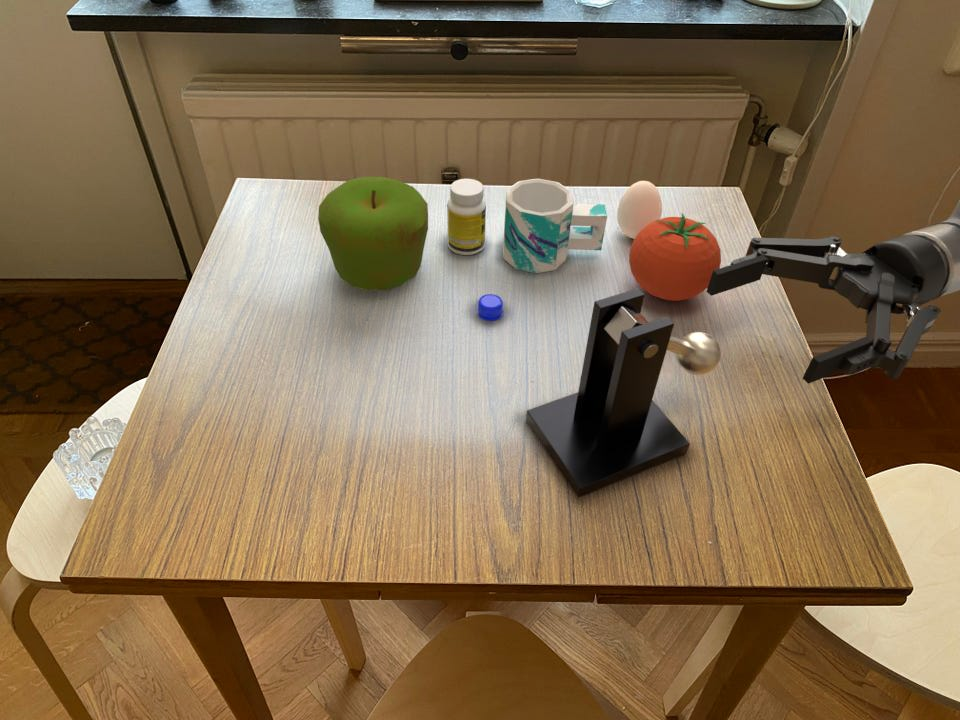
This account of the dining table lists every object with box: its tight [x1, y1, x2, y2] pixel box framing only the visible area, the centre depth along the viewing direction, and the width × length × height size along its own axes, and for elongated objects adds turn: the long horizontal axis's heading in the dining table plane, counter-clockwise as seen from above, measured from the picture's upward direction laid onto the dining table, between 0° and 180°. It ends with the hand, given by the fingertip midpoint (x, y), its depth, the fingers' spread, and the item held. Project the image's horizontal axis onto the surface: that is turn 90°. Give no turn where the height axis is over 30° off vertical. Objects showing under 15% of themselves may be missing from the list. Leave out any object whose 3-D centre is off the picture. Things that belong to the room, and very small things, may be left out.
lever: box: [604, 307, 722, 376], centre depth 62 cm, size 14×4×4 cm
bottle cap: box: [476, 293, 504, 322], centre depth 80 cm, size 3×3×2 cm
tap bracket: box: [525, 287, 691, 498], centre depth 63 cm, size 12×10×16 cm
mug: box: [502, 178, 608, 274], centre depth 86 cm, size 8×12×8 cm
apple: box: [317, 176, 429, 291], centre depth 82 cm, size 12×12×11 cm
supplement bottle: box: [446, 178, 487, 256], centre depth 87 cm, size 5×5×8 cm
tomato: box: [628, 212, 722, 302], centre depth 81 cm, size 10×10×10 cm
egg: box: [616, 180, 663, 240], centre depth 90 cm, size 6×6×8 cm
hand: (757, 324), depth 67 cm, fingers open, 13 cm apart
